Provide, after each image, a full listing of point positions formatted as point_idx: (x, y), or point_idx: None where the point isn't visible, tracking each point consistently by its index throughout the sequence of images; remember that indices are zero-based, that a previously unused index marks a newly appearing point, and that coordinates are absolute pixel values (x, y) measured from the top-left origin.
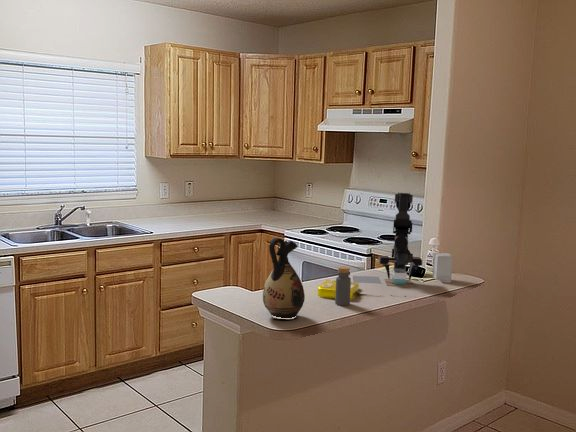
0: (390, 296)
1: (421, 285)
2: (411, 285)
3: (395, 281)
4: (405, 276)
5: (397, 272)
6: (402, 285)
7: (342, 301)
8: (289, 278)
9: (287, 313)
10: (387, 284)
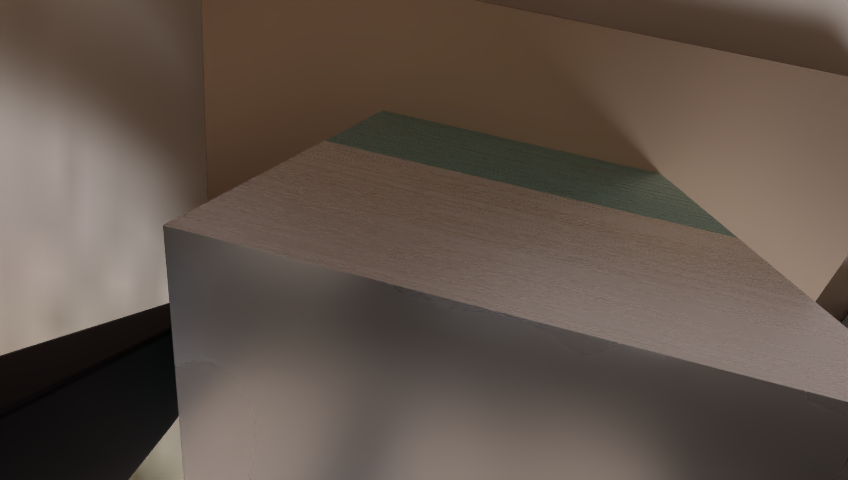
0: None
1: (95, 272)
2: (253, 89)
3: (672, 200)
4: (315, 179)
5: (735, 448)
6: (471, 106)
7: None
8: None
9: None
10: (831, 235)
